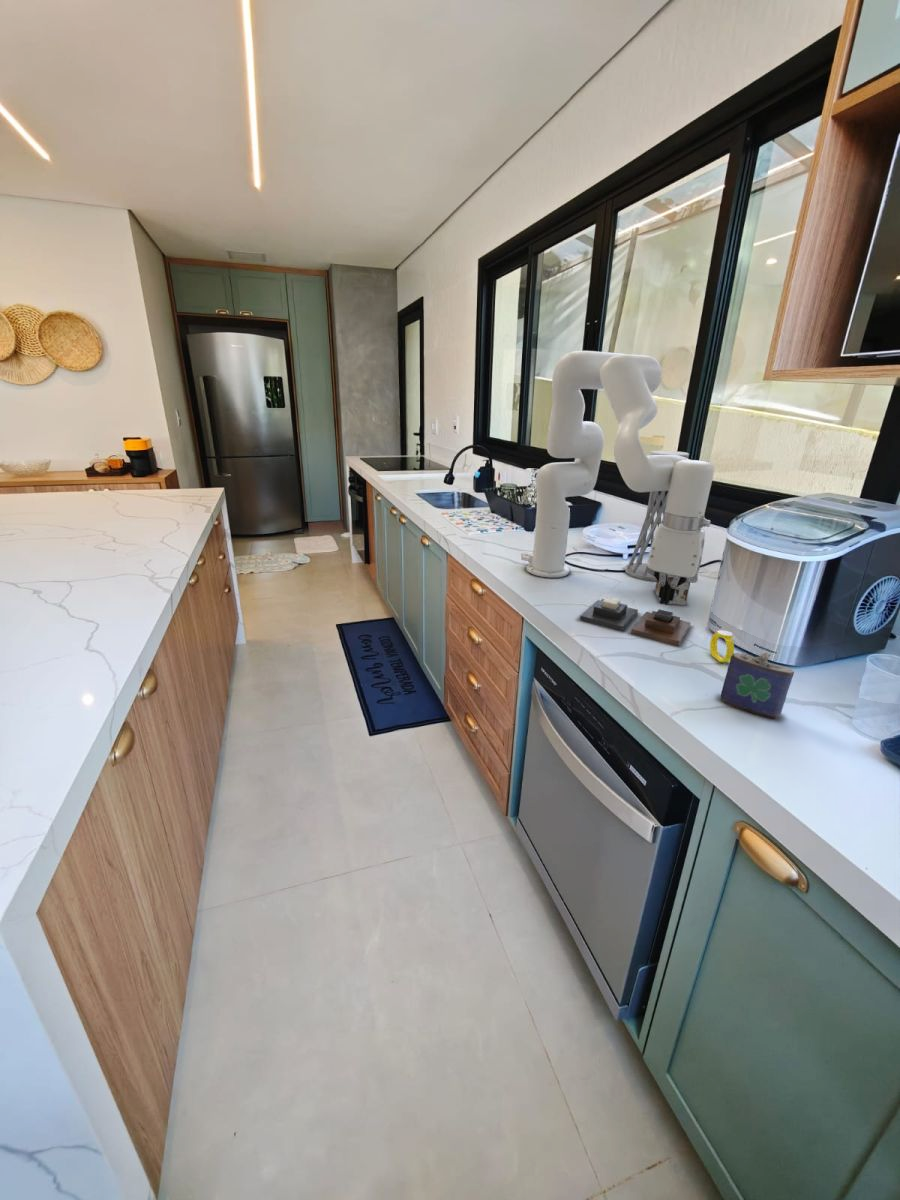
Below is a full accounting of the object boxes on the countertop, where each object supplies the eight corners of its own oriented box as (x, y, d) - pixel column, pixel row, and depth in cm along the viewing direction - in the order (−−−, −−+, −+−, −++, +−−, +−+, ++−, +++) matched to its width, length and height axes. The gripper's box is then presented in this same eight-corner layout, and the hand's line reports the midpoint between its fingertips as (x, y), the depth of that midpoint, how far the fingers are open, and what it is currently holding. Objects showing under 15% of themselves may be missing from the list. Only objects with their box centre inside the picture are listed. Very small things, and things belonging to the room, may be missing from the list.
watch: (733, 666, 100) (741, 639, 98) (720, 666, 100) (727, 640, 97) (717, 652, 105) (723, 626, 103) (704, 652, 105) (710, 626, 103)
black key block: (579, 620, 119) (581, 608, 118) (597, 604, 128) (598, 593, 127) (622, 631, 114) (624, 619, 112) (637, 614, 123) (639, 602, 122)
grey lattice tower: (675, 571, 153) (699, 452, 140) (668, 584, 143) (694, 456, 129) (629, 563, 160) (648, 448, 146) (619, 575, 149) (639, 452, 135)
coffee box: (686, 605, 128) (699, 544, 122) (659, 603, 129) (671, 542, 123) (678, 592, 137) (691, 535, 130) (653, 590, 138) (664, 533, 131)
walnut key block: (631, 633, 113) (633, 621, 111) (645, 616, 122) (647, 604, 121) (678, 646, 107) (681, 633, 106) (689, 626, 117) (692, 615, 115)
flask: (780, 714, 85) (798, 658, 81) (778, 722, 83) (796, 665, 79) (721, 694, 90) (735, 641, 86) (717, 702, 88) (731, 647, 84)
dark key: (653, 620, 113) (655, 613, 113) (657, 616, 116) (658, 609, 115) (668, 624, 112) (670, 617, 111) (672, 619, 114) (673, 612, 113)
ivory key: (601, 607, 119) (602, 601, 119) (606, 603, 122) (607, 596, 121) (615, 611, 118) (616, 604, 117) (619, 606, 120) (620, 600, 120)
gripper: (724, 524, 104) (704, 605, 111) (650, 512, 112) (635, 589, 119) (718, 532, 98) (697, 616, 106) (640, 519, 106) (626, 599, 113)
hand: (665, 602), depth 112 cm, fingers closed
